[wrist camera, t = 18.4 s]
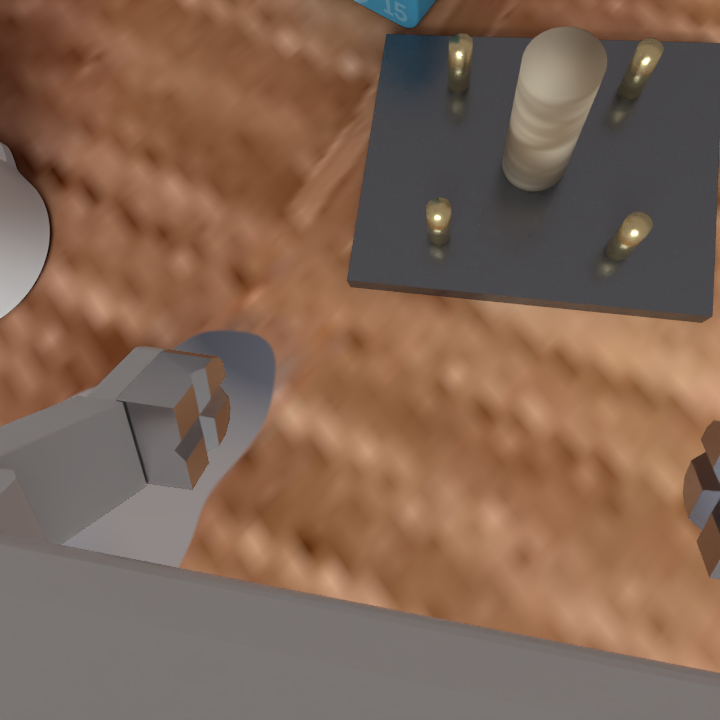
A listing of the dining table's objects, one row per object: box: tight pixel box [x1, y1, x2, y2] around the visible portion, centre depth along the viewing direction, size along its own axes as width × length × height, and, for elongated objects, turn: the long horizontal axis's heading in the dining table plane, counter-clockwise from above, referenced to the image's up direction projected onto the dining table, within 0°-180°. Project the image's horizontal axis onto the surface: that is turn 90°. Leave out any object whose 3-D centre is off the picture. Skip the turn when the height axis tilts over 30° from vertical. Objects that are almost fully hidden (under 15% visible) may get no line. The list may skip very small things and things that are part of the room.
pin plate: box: [347, 33, 720, 323], centre depth 39 cm, size 24×20×6 cm
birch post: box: [502, 27, 607, 191], centre depth 35 cm, size 4×4×10 cm
